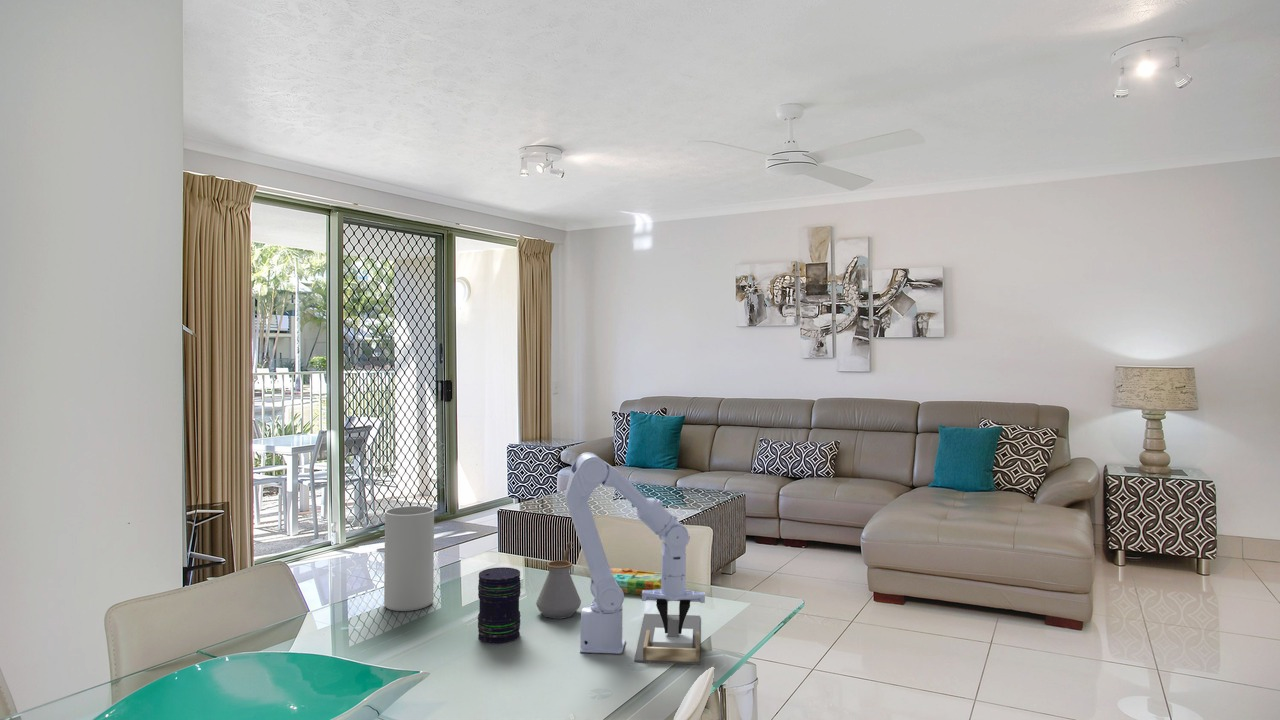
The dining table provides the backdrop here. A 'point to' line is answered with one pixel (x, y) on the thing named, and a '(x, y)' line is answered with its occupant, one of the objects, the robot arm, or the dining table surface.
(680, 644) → the cover plate
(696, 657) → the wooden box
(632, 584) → the puzzle game
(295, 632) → the dining table surface
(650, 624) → the rubber mat
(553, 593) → the grey faceted twig vase
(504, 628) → the storage jar
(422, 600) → the cylinder vase
